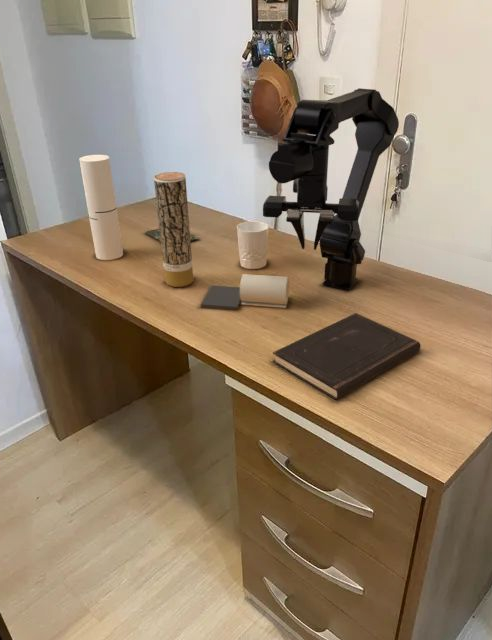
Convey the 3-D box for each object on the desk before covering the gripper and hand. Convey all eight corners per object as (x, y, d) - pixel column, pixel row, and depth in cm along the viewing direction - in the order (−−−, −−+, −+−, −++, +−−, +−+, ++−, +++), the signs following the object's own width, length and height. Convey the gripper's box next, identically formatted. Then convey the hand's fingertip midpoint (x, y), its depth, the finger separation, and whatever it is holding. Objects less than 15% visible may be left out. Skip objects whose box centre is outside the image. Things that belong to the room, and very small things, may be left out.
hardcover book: (272, 362, 103) (272, 352, 102) (354, 322, 115) (355, 312, 114) (337, 401, 93) (338, 390, 91) (419, 352, 105) (421, 342, 104)
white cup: (256, 273, 137) (255, 234, 132) (231, 265, 142) (230, 227, 136) (274, 262, 143) (275, 224, 137) (250, 256, 147) (249, 219, 141)
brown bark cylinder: (188, 289, 130) (179, 180, 117) (161, 287, 131) (149, 179, 118) (197, 277, 136) (189, 172, 122) (170, 275, 137) (159, 171, 123)
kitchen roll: (288, 297, 126) (289, 272, 122) (285, 309, 121) (285, 283, 118) (245, 294, 127) (244, 269, 124) (240, 306, 122) (239, 280, 119)
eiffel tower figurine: (143, 233, 162) (137, 187, 155) (173, 226, 168) (169, 181, 160) (168, 248, 152) (163, 199, 145) (200, 240, 157) (196, 192, 150)
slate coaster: (245, 290, 129) (245, 287, 129) (236, 310, 121) (236, 306, 120) (212, 288, 130) (211, 285, 130) (201, 307, 122) (200, 304, 122)
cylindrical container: (119, 260, 146) (105, 161, 132) (92, 260, 146) (75, 161, 132) (125, 249, 152) (112, 154, 138) (99, 250, 152) (83, 154, 138)
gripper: (362, 163, 112) (355, 237, 121) (271, 160, 115) (270, 233, 124) (361, 177, 103) (354, 256, 112) (262, 174, 106) (262, 251, 115)
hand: (309, 248), depth 116 cm, fingers closed
